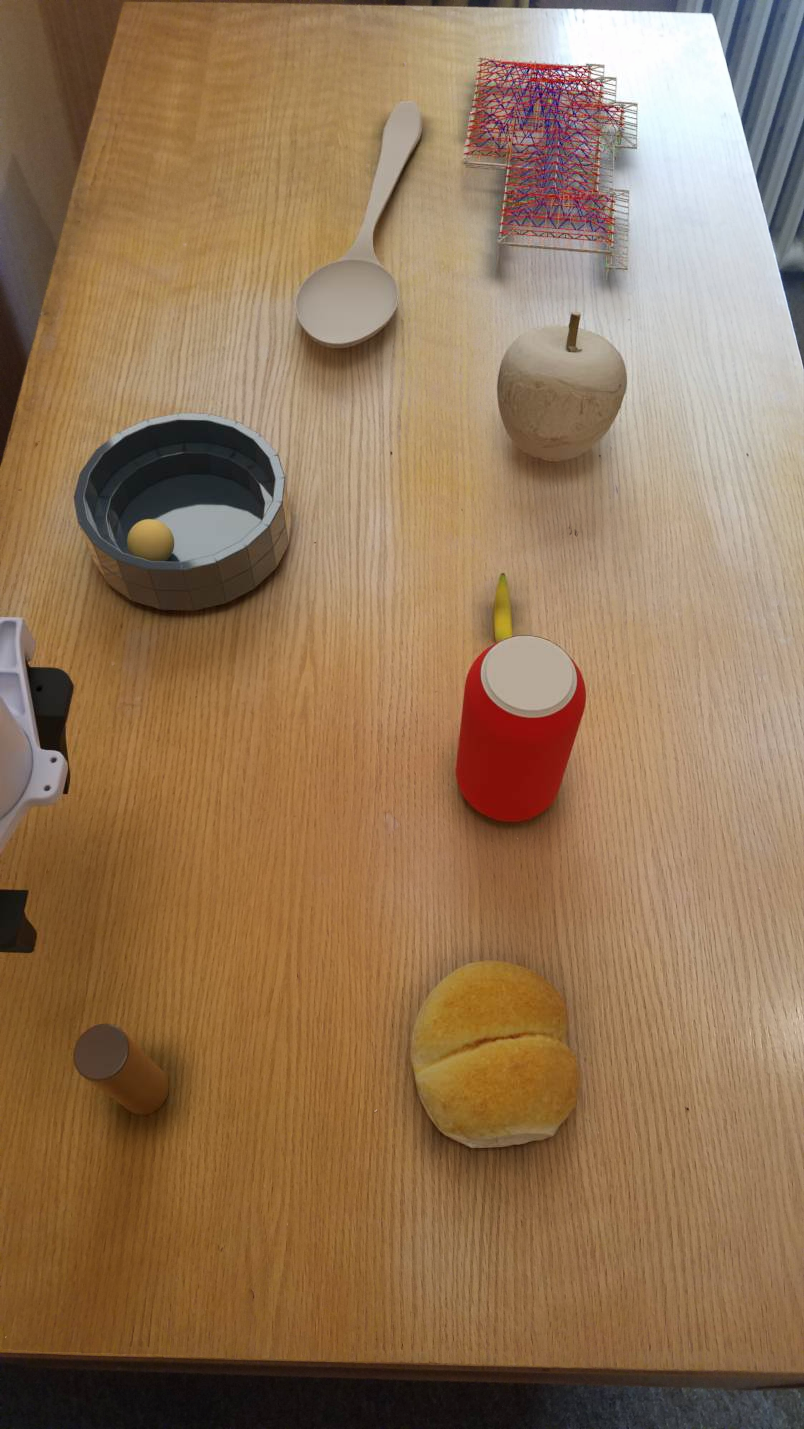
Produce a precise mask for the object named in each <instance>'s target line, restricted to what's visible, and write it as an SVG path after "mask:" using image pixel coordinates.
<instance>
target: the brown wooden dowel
mask: <svg viewBox="0 0 804 1429" xmlns="http://www.w3.org/2000/svg"><path fill="white" fill-rule="evenodd" d="M72 1054H73V1055H72V1060H73V1065H74V1067H75V1069H76V1071H77V1073H78V1074H79V1075H81V1077H83V1078H84V1079H85V1080H87V1081H88V1082H89V1083H91V1084H92V1085H93V1086H95V1087H97V1088H98V1089H99V1090H100V1091H102V1092H103V1093H104V1094H106V1095H107V1096H109V1097H110V1098H111V1099H113V1100H114V1101H116V1102H117V1103H118V1104H120V1105H121V1106H123V1107H124V1108H125V1109H126V1110H128V1111H129V1112H130V1113H132V1114H134V1115H139V1116H146V1115H150V1114H153V1113H155V1112H156V1111H157V1110H159V1109H160V1108H161V1107H162V1106H163V1105H164V1104H165V1102H166V1100H167V1098H168V1096H169V1092H170V1082H169V1079H168V1076H167V1074H166V1073H165V1071H163V1070H162V1069H161V1068H160V1067H159V1066H158V1065H157V1063H155V1062H154V1061H153V1060H152V1059H151V1058H150V1057H149V1055H147V1053H146V1052H144V1051H143V1049H141V1047H139V1045H138V1044H136V1042H135V1041H133V1040H132V1038H131V1037H130V1036H129V1035H128V1034H127V1033H126V1032H125V1031H124V1030H123V1029H121V1028H120V1027H119V1026H117V1025H115V1024H111V1023H99V1024H95V1025H93V1026H91V1027H89V1028H88V1029H87V1030H85V1031H84V1032H83V1033H82V1034H81V1035H80V1036H79V1037H78V1039H77V1041H76V1043H75V1045H74V1049H73V1052H72Z"/></svg>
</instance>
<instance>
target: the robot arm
mask: <svg viewBox="0 0 804 1429" xmlns="http://www.w3.org/2000/svg"><path fill="white" fill-rule="evenodd" d="M36 647H37V642H36V639H35V638H34V636H33V634H32V633H31V631H30V629H29V627H28V625H27V623H26V621H25V619H24V618H23V617H17V616H16V617H13V616H6V617H5V616H0V855H1V854H2V852H3V851H4V849H5V848H6V846H7V845H8V843H9V841H10V840H11V838H12V837H13V835H14V834H15V832H16V830H17V829H18V827H19V826H20V824H21V823H22V821H23V820H24V818H25V816H26V815H27V813H28V812H29V811H30V810H31V809H32V808H34V807H38V806H39V807H40V806H41V807H48V806H52V805H56V804H57V803H58V802H60V800H61V799H62V796H63V795H68V794H69V791H70V790H69V789H70V785H71V767H70V761H69V760H70V759H69V754H68V746H67V745H68V744H67V728H66V727H67V722H68V716H69V713H70V712H69V711H70V708H71V704H72V699H73V694H74V689H75V684H74V682H73V681H72V679H71V676H69V674H68V673H67V672H66V671H65V670H63V669H61V668H58V667H51V666H50V667H49V666H47V667H46V666H45V667H44V666H30V665H29V662H31V661H32V660H33V659H34V655H35V651H36ZM29 891H30V890H29V889H8V888H7V889H4V888H1V889H0V953H6V954H7V953H8V954H9V953H10V954H32V953H34V952H35V948H36V944H37V939H38V932H37V930H36V928H35V926H34V925H33V924H32V923H31V922H30V920H29V919H28V918H27V914H26V911H25V910H26V905H27V901H28V896H29Z"/></svg>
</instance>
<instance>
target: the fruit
mask: <svg viewBox="0 0 804 1429" xmlns="http://www.w3.org/2000/svg"><path fill="white" fill-rule="evenodd" d="M511 607H512V604H511V597H510V590H509V584H508V578H507V575H506V573H505V572H501V573H500V574H499V578H498V581H497V585H496V591H495V598H494V606H493V629H494V631H493V632H494V639H495V643H497V642H499V641H502V640H504V639H507V638H509V637H513V636H514V635H513V634H514V633H513V620H512V619H513V617H512V608H511Z"/></svg>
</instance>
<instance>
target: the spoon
mask: <svg viewBox="0 0 804 1429" xmlns="http://www.w3.org/2000/svg"><path fill="white" fill-rule="evenodd" d="M421 115H422V114H421V111H420V107H419V105H418V104H417V102H415V101H412V100H402V101H399V102H398V103H397V104H396V105H395V106H394V108H393V110H392V111H391V113H390V115H389V117H388V118H387V121H386V123H385V126H384V128H383V131H382V136H381V137H382V138H381V149H380V150H381V151H380V155H379V160H378V164H377V167H376V171H375V176H374V179H373V182H372V187H371V190H370V194H369V198H368V202H367V207H366V211H365V214H364V218H363V221H362V224H361V226H360V229H359V232H358V234H357V236H356V238H355V240H354V242H353V243H352V245H351V246H350V247H349V249H348V250H347V251H346V252H345V253H344V254H343V255H342V256H341V257H340V258H338V259H336V260H335V261H332V262H329V263H327V264H324V265H322V266H321V267H319V268H316V269H315V270H314V271H313V272H311V273H309V275H307V277H306V278H305V279H304V280H303V282H302V283H301V284H300V286H299V288H298V290H297V292H296V295H295V299H294V311H295V315H296V317H297V320H298V322H299V323H300V326H301V328H302V330H303V331H304V332H305V333H306V335H307V336H309V337H310V339H312V340H313V341H314V342H316V343H317V344H319V345H321V346H324V347H326V348H332V349H344V348H345V349H346V348H350V347H354V346H356V345H359V344H361V343H364V342H366V341H368V340H369V339H371V338H372V337H374V336H375V335H376V334H378V333H379V332H380V331H382V330H383V328H384V327H385V326H386V325H387V324H388V323H389V322H390V320H391V319H392V317H393V316H394V314H395V312H396V310H397V306H398V302H399V295H400V294H399V293H400V292H399V285H398V283H397V280H396V279H395V277H394V275H393V274H392V273H391V272H390V271H389V270H388V269H387V268H386V267H384V266H383V265H382V264H381V262H380V261H379V259H378V257H377V255H376V252H375V249H374V248H375V247H374V241H373V240H374V238H373V237H374V232H375V230H376V227H377V224H378V222H379V220H380V218H381V216H382V214H383V212H384V210H385V208H386V206H387V204H388V202H389V200H390V198H391V195H392V194H393V191H394V189H395V187H396V185H397V183H398V180H399V178H400V177H401V174H402V172H403V170H404V168H405V165H406V164H407V163H408V160H409V159H410V157H411V154H412V153H413V152H414V150H415V148H416V146H417V145H418V143H419V141H420V139H421V137H422V134H423V119H422V116H421Z"/></svg>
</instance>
